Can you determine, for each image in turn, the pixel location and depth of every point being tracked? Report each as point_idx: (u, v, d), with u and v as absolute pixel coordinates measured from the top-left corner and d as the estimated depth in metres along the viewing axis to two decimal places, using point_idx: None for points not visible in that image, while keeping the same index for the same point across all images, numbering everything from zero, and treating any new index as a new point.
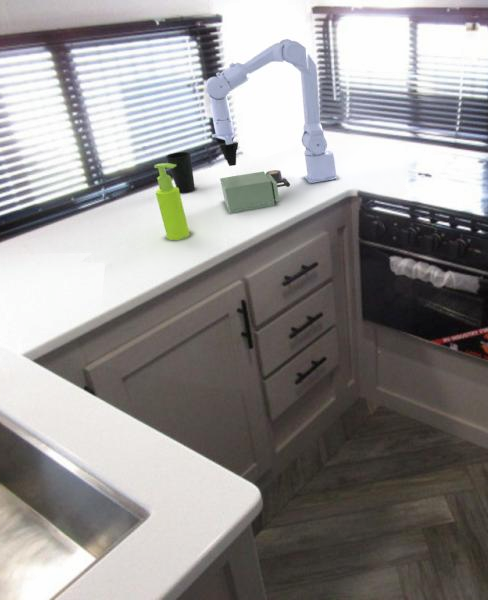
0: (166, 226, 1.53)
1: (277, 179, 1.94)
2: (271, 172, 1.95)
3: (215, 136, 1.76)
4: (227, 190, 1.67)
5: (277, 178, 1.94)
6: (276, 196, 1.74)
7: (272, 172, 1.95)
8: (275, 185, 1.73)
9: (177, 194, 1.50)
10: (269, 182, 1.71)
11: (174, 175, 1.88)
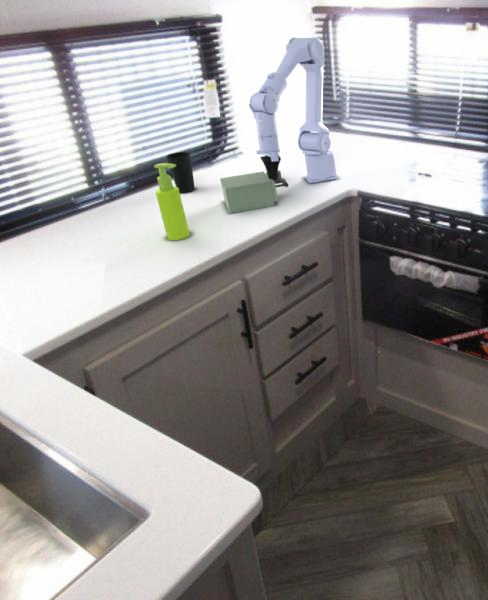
0: (166, 226, 1.53)
1: (277, 179, 1.94)
2: None
3: (259, 152, 1.71)
4: (227, 190, 1.67)
5: (277, 178, 1.94)
6: (274, 196, 1.74)
7: None
8: (273, 185, 1.72)
9: (177, 194, 1.50)
10: (269, 182, 1.71)
11: (174, 175, 1.88)
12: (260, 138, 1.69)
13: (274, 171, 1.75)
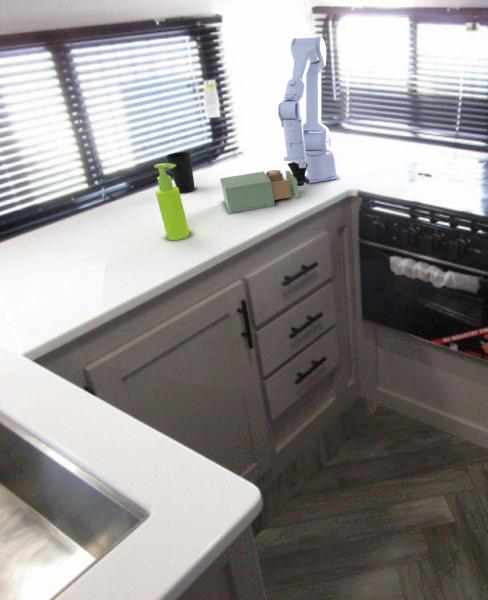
0: (166, 226, 1.53)
1: None
2: (271, 172, 1.95)
3: (287, 159, 1.74)
4: (227, 190, 1.67)
5: None
6: (296, 192, 1.76)
7: (272, 172, 1.95)
8: (295, 182, 1.74)
9: (177, 194, 1.50)
10: (269, 182, 1.71)
11: (174, 175, 1.88)
12: (288, 145, 1.72)
13: (301, 177, 1.79)
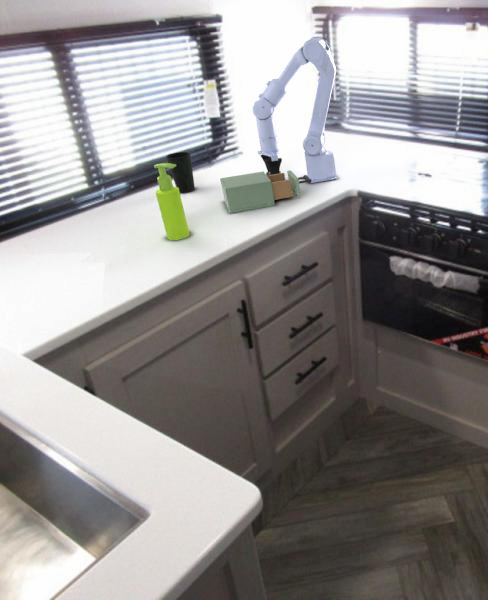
0: (166, 226, 1.53)
1: None
2: None
3: (261, 153, 1.90)
4: (227, 190, 1.67)
5: None
6: (298, 192, 1.76)
7: None
8: (297, 181, 1.75)
9: (177, 194, 1.50)
10: (269, 182, 1.71)
11: (174, 175, 1.88)
12: (261, 140, 1.88)
13: (276, 171, 1.92)
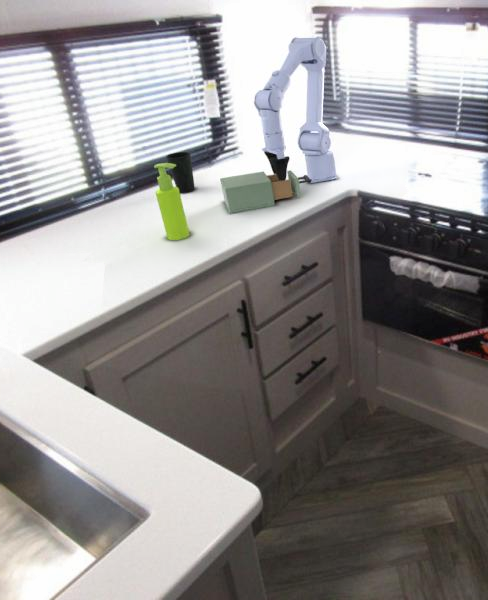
0: (166, 226, 1.53)
1: None
2: None
3: (265, 150, 1.71)
4: (227, 190, 1.67)
5: None
6: (298, 192, 1.76)
7: None
8: (297, 181, 1.75)
9: (177, 194, 1.50)
10: (269, 182, 1.71)
11: (174, 175, 1.88)
12: (266, 136, 1.69)
13: (283, 171, 1.73)
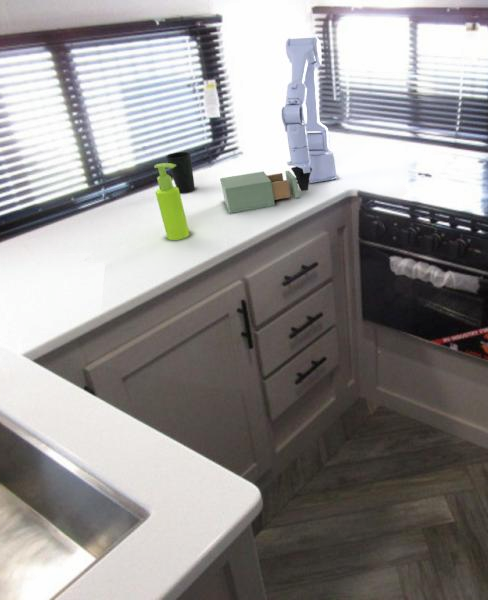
0: (166, 226, 1.53)
1: None
2: None
3: (291, 164, 1.72)
4: (227, 190, 1.67)
5: None
6: (296, 192, 1.76)
7: None
8: (295, 182, 1.74)
9: (177, 194, 1.50)
10: (269, 182, 1.71)
11: (174, 175, 1.88)
12: (291, 150, 1.70)
13: (305, 182, 1.76)
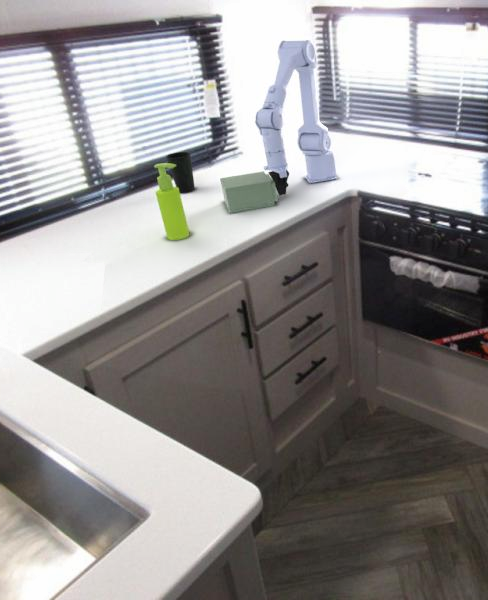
0: (166, 226, 1.53)
1: None
2: None
3: (267, 168, 1.70)
4: (227, 190, 1.67)
5: None
6: (274, 196, 1.74)
7: None
8: (273, 185, 1.72)
9: (177, 194, 1.50)
10: (269, 182, 1.71)
11: (174, 175, 1.88)
12: (267, 154, 1.68)
13: (283, 186, 1.74)
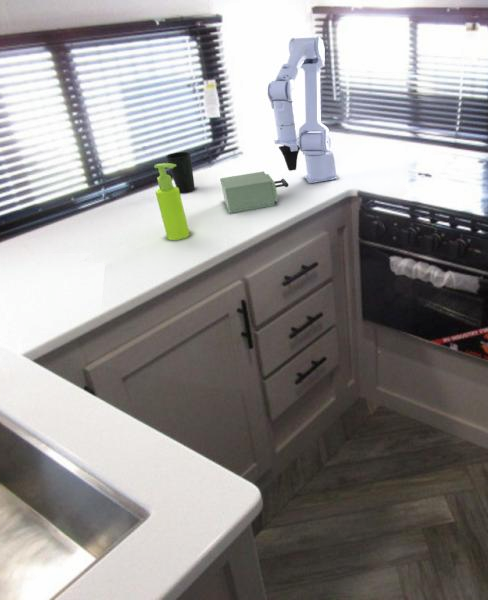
0: (166, 226, 1.53)
1: None
2: None
3: (278, 142, 1.67)
4: (227, 190, 1.67)
5: None
6: (274, 196, 1.74)
7: None
8: (273, 185, 1.72)
9: (177, 194, 1.50)
10: (269, 182, 1.71)
11: (174, 175, 1.88)
12: (278, 127, 1.65)
13: (293, 161, 1.72)
